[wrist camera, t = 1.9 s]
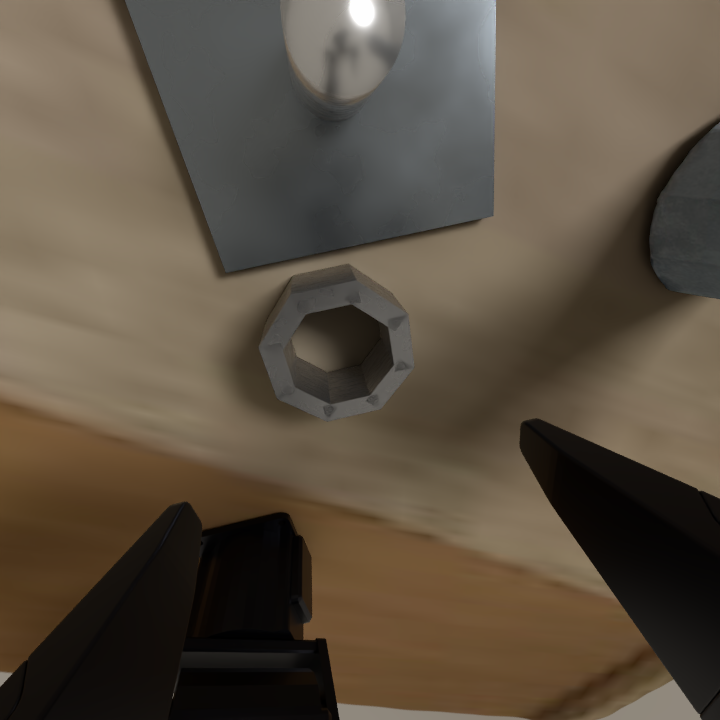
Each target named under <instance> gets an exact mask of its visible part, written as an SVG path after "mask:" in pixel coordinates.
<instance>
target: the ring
mask: <svg viewBox="0 0 720 720" xmlns="http://www.w3.org/2000/svg"><path fill="white" fill-rule="evenodd" d="M350 304H352V305H354V306H355V307H357V308H359V309H360V310H362V311H363V312H365V313H367V314H368V315H370V316H371V317H373V318H375V319H376V320H378V322H379V328H380V334H381V339H380V340H379V341H378V343H377V344H376V345H375V347H374V348H373V349H372V351H371V352H370V353H369V355H368V356H367V357H366V359H365V360H364V361H363V363H362V364H361V365H358V366H354V367H349V368H345V369H340V370H336V371H332V372H325V371H323V370H321V369H319V368H317V367H315V366H314V365H312V364H310V363H308V362H306V361H304V360H302V359H300V358H298V357H296V353H295V350H294V347H293V344H292V340H291V337H292V335H293V334H294V332H295V331H296V329H297V327H298V326H299V324H300V323H301V321H302V320H303V318H304V317H305V315H306V314H309V313H314V312H319V311H323V310H328V309H332V308H337V307H341V306H346V305H350ZM258 348H259V350H260V353H261V356H262V359H263V361H264V364H265V367H266V370H267V372H268V375H269V378H270V381H271V383H272V386H273V389H274V392H275V394H276V397H277V399H278V400H281V401H283V402H285V403H287V404H289V405H292V406H294V407H296V408H298V409H300V410H303V411H305V412H307V413H309V414H311V415H314V416H316V417H318V418H320V419H322V420H325V421H332V420H336V419H340V418H345V417H349V416H353V415H358V414H362V413H366V412H370V411H375V410H379V409H381V408H382V407H383V406H384V404H385V403H386V402H387V401H388V400H389V398H390V397H391V396H392V395H393V393H394V392H395V391H396V390H397V388H398V387H399V386H400V385H401V384H402V382H403V381H404V380H405V379H406V377H407V376H408V375H409V374H410V372H411V371H412V370H413V369H414V359H413V351H412V342H411V334H410V325H409V317H408V313H407V312H406V311H405V309H404V308H403V307H402V305H401V304H400V303H399V302H398V300H397V299H396V298H395V296H394V295H393V294H392V293H391V292H390V291H388V290H387V289H385V288H384V287H382V286H381V285H379V284H378V283H376V282H375V281H373V280H372V279H370V278H369V277H367V276H366V275H364V274H363V273H361V272H360V271H358V270H357V269H355V268H354V267H352V266H351V265H349V264H345V265H341V266H336V267H331V268H327V269H322V270H317V271H313V272H308V273H303V274H299V275H294V276H293V277H292V278H291V280H290V282H289V283H288V285H287V287H286V289H285V290H284V292H283V294H282V295H281V297H280V299H279V300H278V302H277V304H276V305H275V307H274V309H273V310H272V312H271V314H270V315H269V317H268V319H267V320H266V323H265V326H264V330H263V333H262V337H261V340H260V344H259V347H258Z"/></svg>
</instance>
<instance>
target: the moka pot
mask: <svg viewBox="0 0 720 720" xmlns="http://www.w3.org/2000/svg"><path fill="white" fill-rule="evenodd" d="M649 244H650V251H651V265H652V268H653V269H654V271H655V273H656V274H657V276H658V278H659V279H660V281H661V282H662V283H663V284H664V285H665V287H666V288H667V289H668V290H671V291H676V292H680V293H686V294H692V295H698V296H704V297H710V298H716V299H720V122H719V123H718V124H717V125H716V126H715V127H714V128H712V129H711V130H710V131H709V132H708V133H707V134H706V135H705V136H704V137H703V138H702V139H701V140H700V141H699V142H698V143H697V144H696V145H695V146H694V147H693V148H692V149H691V150H690V151H689V153H688V155H687V157H686V158H685V159H684V161H683V162H682V164H681V165H680V166H679V167H678V169H677V170H676V171H675V172H674V174H673V175H672V177H671V178H670V180H669V182H668V184H667V185H666V187H665V188H664V189H663V190H662V191H661V194H660V196H659V197H658V199H657V205H656V207H655V210H654V214H653V221H652V224H651V226H650V237H649Z"/></svg>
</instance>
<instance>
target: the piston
mask: <svg viewBox="0 0 720 720" xmlns="http://www.w3.org/2000/svg"><path fill="white" fill-rule="evenodd" d="M125 2H126V5H127V8H128V10H129V13H130V16H131V18H132V21H133V24H134V27H135V29H136V32H137V35H138V37H139V40H140V43H141V45H142V48H143V51H144V54H145V56H146V59H147V62H148V64H149V67H150V70H151V72H152V75H153V78H154V80H155V83H156V86H157V89H158V91H159V94H160V97H161V99H162V102H163V105H164V107H165V110H166V113H167V116H168V118H169V121H170V124H171V126H172V129H173V132H174V134H175V137H176V140H177V142H178V145H179V148H180V151H181V153H182V156H183V159H184V161H185V164H186V167H187V169H188V172H189V175H190V178H191V180H192V183H193V186H194V188H195V191H196V194H197V196H198V199H199V202H200V204H201V207H202V210H203V213H204V215H205V218H206V221H207V223H208V226H209V229H210V231H211V234H212V237H213V239H214V242H215V245H216V248H217V250H218V253H219V256H220V258H221V261H222V264H223V266H224V269H225V272H226V273H228V272H233V271H237V270H242V269H247V268H251V267H256V266H261V265H266V264H270V263H275V262H280V261H284V260H289V259H294V258H298V257H303V256H308V255H313V254H317V253H322V252H327V251H331V250H336V249H341V248H345V247H350V246H355V245H360V244H364V243H369V242H374V241H378V240H383V239H388V238H392V237H397V236H402V235H407V234H411V233H416V232H421V231H425V230H430V229H435V228H440V227H444V226H449V225H454V224H458V223H463V222H468V221H472V220H477V219H482V218H487V217H491V216H493V210H494V125H495V39H496V0H125Z"/></svg>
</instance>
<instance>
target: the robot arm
mask: <svg viewBox="0 0 720 720" xmlns="http://www.w3.org/2000/svg"><path fill="white" fill-rule="evenodd" d="M520 449H521V452H522V454H523V456H524V457H525V459H526V461H527V463H528V465H529V466H530V468H531V470H532V472H533V474H534V475H535V477H536V479H537V481H538V482H539V484H540V486H541V488H542V490H543V491H544V493H545V495H546V497H547V498H548V500H549V502H550V503H551V505H552V506H553V508H554V509H555V511H556V512H557V514H558V515H559V517H560V518H561V519H562V521H563V522H564V524H565V525H566V527H567V528H568V529H569V531H570V532H571V534H572V535H573V537H574V538H575V539H576V541H577V542H578V544H579V545H580V546H581V548H582V549H583V551H584V552H585V554H586V555H587V556H588V558H589V559H590V561H591V562H592V564H593V565H594V566H595V568H596V569H597V571H598V572H599V574H600V575H601V576H602V578H603V579H604V581H605V582H606V583H607V585H608V586H609V588H610V589H611V591H612V592H613V593H614V595H615V596H616V598H617V599H618V601H619V602H620V603H621V605H622V606H623V608H624V609H625V611H626V612H627V613H628V615H629V616H630V618H631V619H632V620H633V622H634V623H635V625H636V626H637V628H638V629H639V630H640V632H641V633H642V635H643V636H644V638H645V639H646V640H647V642H648V643H649V645H650V646H651V647H652V649H653V650H654V652H655V653H656V655H657V656H658V657H659V659H660V660H661V662H662V663H663V665H664V666H665V667H666V669H667V670H668V672H669V673H670V675H671V676H672V677H673V679H674V680H675V682H676V683H677V684H678V686H679V687H680V689H681V690H682V692H683V693H684V694H685V696H686V697H687V699H688V700H689V702H690V703H691V704H692V705H693V707H694V709H695V710H696V711H697V712H698V713H699V714H700V718H701V719H702V720H720V499H719V498H717V497H715V496H713V495H710V494H708V493H706V492H704V491H698V489H696V488H694V487H692V486H690V485H688V484H685V483H683V482H681V481H679V480H676V479H674V478H672V477H669V476H667V475H665V474H663V473H660V472H658V471H656V470H654V469H651V468H649V467H647V466H645V465H642V464H640V463H638V462H636V461H633V460H631V459H629V458H627V457H624V456H622V455H620V454H617V453H615V452H613V451H611V450H608V449H606V448H604V447H602V446H599V445H597V444H595V443H593V442H590V441H588V440H586V439H584V438H581V437H579V436H577V435H575V434H572V433H570V432H568V431H565V430H563V429H561V428H559V427H556V426H554V425H552V424H550V423H547V422H545V421H543V420H541V419H537V418H535V419H531V420H526V421H523V422H522V423H521V428H520ZM199 557H200V562H199ZM198 562H199V566H198ZM311 618H312V566H311V555H310V553H309V551H308V548H307V546H306V543H305V541H304V539H303V537H302V536H300V535H298V534H297V531H296V529H295V527H294V524H293V522H292V520H291V517H290V516H289V514H287V513H278V514H274V515H270V516H266V517H262V518H258V519H254V520H249V521H245V522H241V523H237V524H233V525H229V526H225V527H220V528H216V529H212V530H208V531H204V532H202V524H201V521H200V519H199V517H198V516H197V514H196V513H195V511H194V509H193V508H192V506H191V505H190V503H188V502H181V503H177V504H173V505H171V506H169V507H168V508H167V509H166V510H165V511H164V512H163V513H162V514H161V516H160V517H159V518H158V519H157V520H156V521H155V522H154V523H153V524H152V525H151V526H150V527H149V528H148V529H147V531H146V532H145V533H144V534H143V535H142V536H141V537H140V538H139V539H138V540H137V541H136V542H135V543H134V544H133V545H132V547H131V548H130V549H129V550H128V551H127V552H126V553H125V554H124V555H123V556H122V557H121V558H120V559H119V560H118V562H117V563H116V564H115V565H114V566H113V567H112V568H111V569H110V570H109V571H108V572H107V573H106V574H105V575H104V577H103V578H102V579H101V580H100V581H99V582H98V583H97V584H96V585H95V586H94V587H93V588H92V589H91V590H90V592H89V593H88V594H87V595H86V596H85V597H84V598H83V599H82V600H81V601H80V602H79V603H78V604H77V605H76V607H75V608H74V609H73V610H72V611H71V612H70V613H69V614H68V615H67V616H66V617H65V618H64V619H63V620H62V622H61V623H60V624H59V625H58V626H57V627H56V628H55V629H54V630H53V631H52V632H51V633H50V634H49V635H48V637H47V638H46V639H45V640H44V641H43V642H42V643H41V644H40V645H39V646H38V647H37V648H36V649H35V650H34V652H33V653H32V654H31V655H30V656H29V658H28V660H26V661H24V662H23V663H22V664H21V665H20V666H19V667H18V669H17V670H16V671H15V672H14V673H13V674H12V675H11V676H10V677H9V678H8V679H7V680H6V681H5V682H4V684H3V685H2V686H1V687H0V720H339V714H338V708H337V702H336V696H335V690H334V684H333V678H332V672H331V666H330V660H329V654H328V649H327V643H326V639H325V638H316V640H303V624H304V623H308V622H310V620H311ZM173 693H174V696H173ZM172 697H173V699H172Z"/></svg>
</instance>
